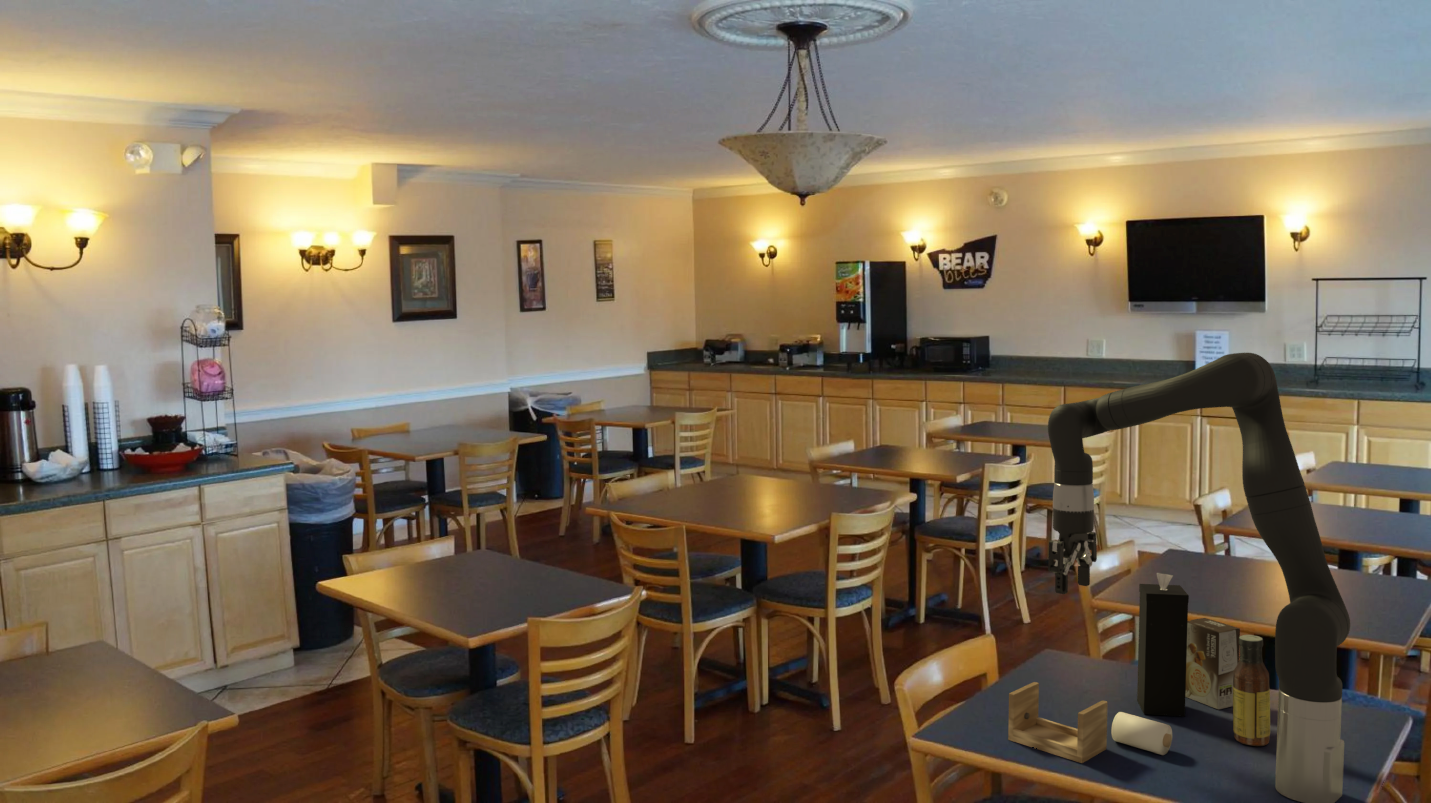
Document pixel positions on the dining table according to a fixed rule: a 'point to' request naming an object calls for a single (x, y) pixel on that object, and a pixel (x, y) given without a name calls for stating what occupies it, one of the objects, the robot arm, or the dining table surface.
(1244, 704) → the sauce bottle
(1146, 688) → the tissue box
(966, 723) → the dining table surface
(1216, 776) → the dining table surface
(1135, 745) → the cylinder
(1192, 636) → the coffee box
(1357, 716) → the dining table surface
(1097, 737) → the holder
